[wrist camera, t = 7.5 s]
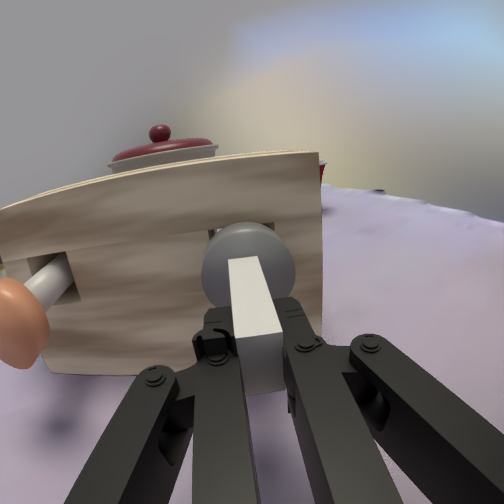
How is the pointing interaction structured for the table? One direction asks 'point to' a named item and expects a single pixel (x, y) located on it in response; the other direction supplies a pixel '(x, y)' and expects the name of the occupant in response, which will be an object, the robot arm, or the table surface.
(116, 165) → the canister
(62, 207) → the stand
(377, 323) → the table surface
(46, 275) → the terracotta plunger
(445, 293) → the table surface
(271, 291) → the grey plunger
